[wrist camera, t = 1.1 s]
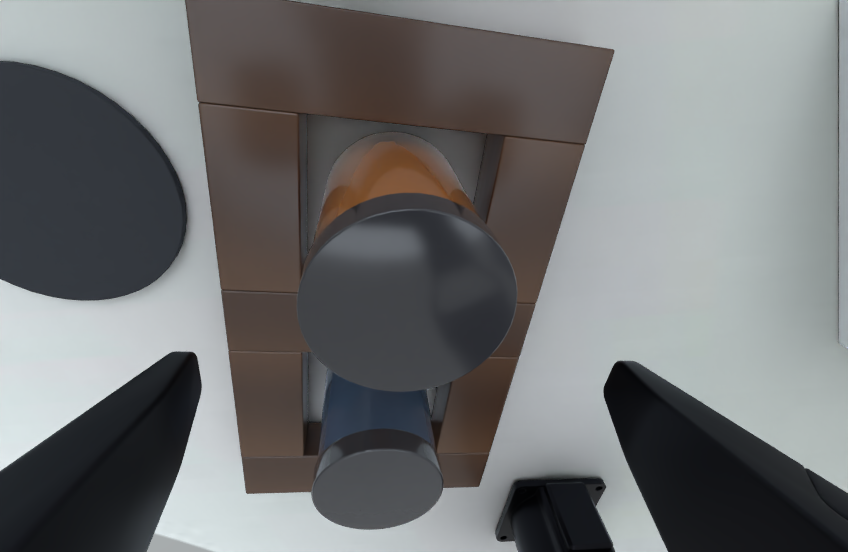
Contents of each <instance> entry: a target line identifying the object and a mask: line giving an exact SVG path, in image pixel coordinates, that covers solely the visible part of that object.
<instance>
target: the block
mask: <svg viewBox="0 0 848 552" xmlns="http://www.w3.org/2000/svg"><path fill="white" fill-rule="evenodd" d="M839 343H840V344H841V345H843V346H844V347H845V348H847V349H848V0H839Z"/></svg>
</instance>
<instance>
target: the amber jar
mask: <svg viewBox="0 0 848 552" xmlns="http://www.w3.org/2000/svg"><path fill="white" fill-rule="evenodd" d="M517 293H518V292H517V282H516V277H515V274H514V270H513V267H512V265H511V263H510V261H509V258H508V257H507V255H506V253H505V251H504V250H503V248H502V246H501V245H500V243H499V241H498V240H497V238H496V237H495V235H494V234H493V232H492V231H491V229H490V228H489V227H488V226H487V225H486V224H485V222H484V221H483V220H482V219H481V218H480V216H479V214H478V212H477V211H476V209H475V207H474V205H473V204H472V202H471V200H470V198H469V197H468V195H467V193H466V192H465V190H464V188H463V186H462V185H461V183H460V181H459V179H458V178H457V176H456V174H455V172H454V171H453V169H452V167H451V165H450V164H449V162H448V161H447V159H446V158H445V156H444V155H443V154H442V153H441V152H440V151H439V150H438V149H437V148H436V147H435V146H433V145H432V144H430V143H429V142H427V141H426V140H424V139H422V138H420V137H417V136H414V135H411V134H408V133H402V132H382V133H377V134H373V135H370V136H367V137H364V138H362V139H360V140H358V141H357V142H355V143H353V144H352V145H351V146H349V147H348V148H347V149H346V150H345V151H344V152H343V153H342V154H341V155H340V156H339V157H338V159H337V160H336V161H335V163H334V165H333V167H332V168H331V171H330V173H329V176H328V179H327V183H326V188H325V192H324V197H323V201H322V205H321V210H320V214H319V219H318V223H317V228H316V232H315V237H314V241H313V245H312V247H311V248H310V250H309V253H308V255H307V258H306V260H305V263H304V268H303V272H302V276H301V280H300V284H299V289H298V293H297V305H296V308H297V318H298V322H299V326H300V330H301V332H302V335H303V337H304V339H305V341H306V343H307V345H308V346H309V348H310V349H311V351H312V352H313V354H314V355H315V356H316V357H317V358H318V359H319V360H320V362H322V363H323V364H324V365H325V366H326V367H327V368H328V369H330V370H331V371H333V372H334V373H336V374H337V375H339V376H340V377H342V378H344V379H346V380H348V381H350V382H353V383H355V384H358V385H360V386H364V387H367V388H371V389H376V390H382V391H393V392H408V391H418V390H425V389H429V388H434V387H438V386H441V385H444V384H447V383H449V382H452V381H454V380H456V379H458V378H460V377H462V376H464V375H466V374H467V373H469V372H471V371H472V370H474V369H475V368H477V367H478V366H479V365H481V364H482V363H483V362H484V361H485V360H486V359H488V358H489V357H490V356H491V355H492V354H493V352H494V351H495V350H496V349H497V348H498V347H499V345H500V344H501V342H502V341H503V340H504V338H505V337H506V335H507V333H508V331H509V329H510V327H511V324H512V321H513V319H514V316H515V311H516V306H517Z"/></svg>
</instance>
